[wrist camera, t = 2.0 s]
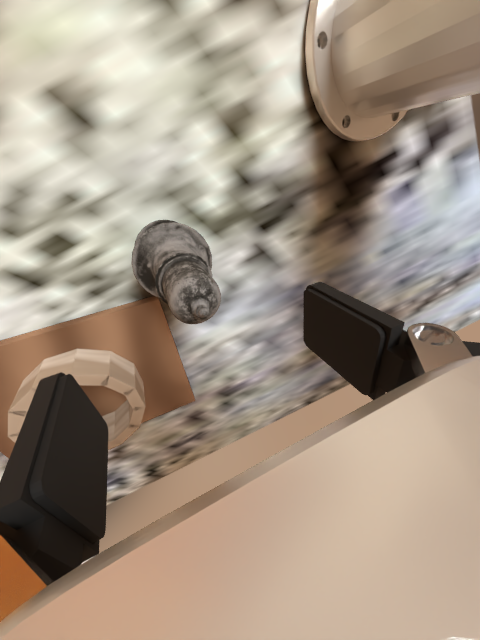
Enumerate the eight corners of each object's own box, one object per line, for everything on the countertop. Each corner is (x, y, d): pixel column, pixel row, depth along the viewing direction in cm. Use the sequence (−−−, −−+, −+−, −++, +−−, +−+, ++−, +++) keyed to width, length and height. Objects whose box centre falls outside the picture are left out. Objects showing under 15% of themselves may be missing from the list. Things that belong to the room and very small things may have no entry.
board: (157, 294, 23) (164, 317, 19) (193, 394, 30) (203, 423, 27) (-88, 366, 18) (-140, 413, 14) (28, 462, 26) (13, 508, 22)
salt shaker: (212, 242, 22) (281, 291, 13) (179, 295, 23) (218, 376, 14) (153, 199, 19) (184, 223, 9) (116, 263, 20) (112, 343, 10)
